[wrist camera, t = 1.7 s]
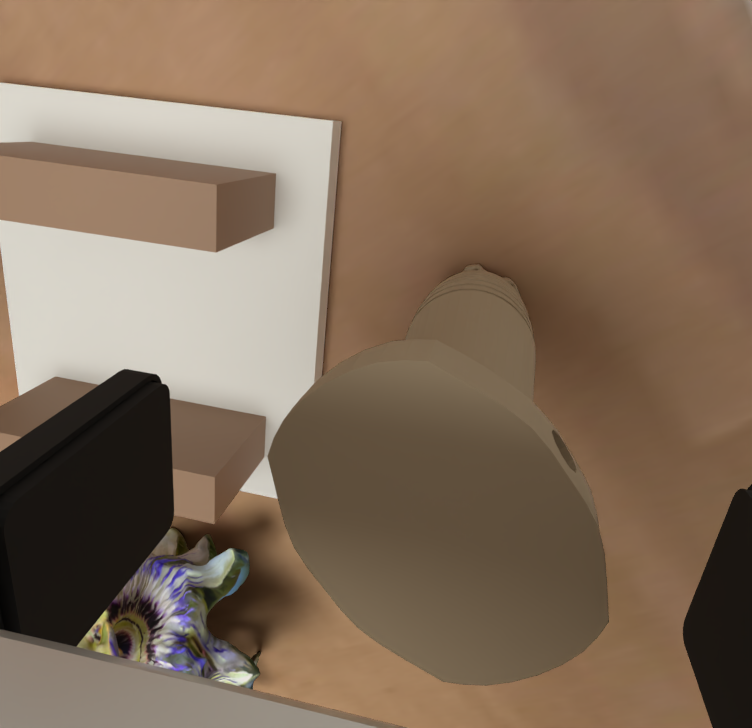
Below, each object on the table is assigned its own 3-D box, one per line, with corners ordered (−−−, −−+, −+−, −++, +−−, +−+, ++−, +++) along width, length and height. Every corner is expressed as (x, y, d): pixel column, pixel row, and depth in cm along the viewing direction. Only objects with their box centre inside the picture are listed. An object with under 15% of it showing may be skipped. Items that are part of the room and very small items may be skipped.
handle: (469, 397, 25) (424, 714, 12) (381, 268, 24) (214, 451, 10) (576, 339, 24) (671, 629, 10) (487, 196, 22) (453, 304, 9)
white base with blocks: (313, 490, 29) (264, 579, 23) (42, 434, 31) (-64, 503, 25) (341, 121, 23) (285, 118, 17) (3, 82, 25) (-149, 68, 19)
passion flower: (223, 486, 36) (205, 501, 25) (328, 638, 36) (359, 726, 25) (47, 609, 34) (-67, 690, 22) (159, 774, 34) (104, 943, 22)
